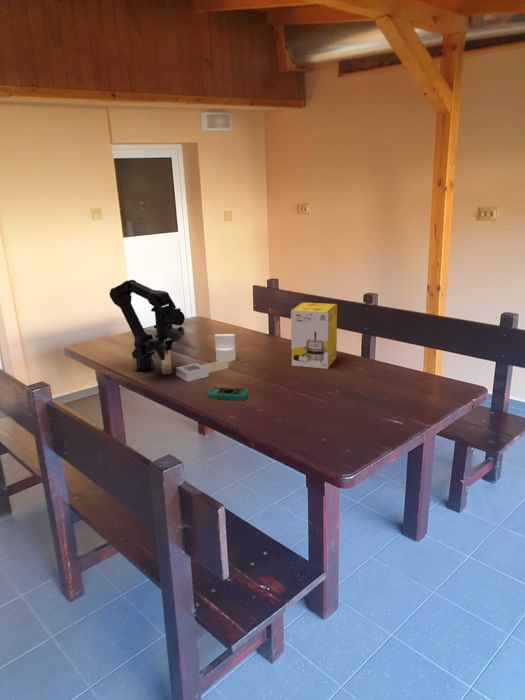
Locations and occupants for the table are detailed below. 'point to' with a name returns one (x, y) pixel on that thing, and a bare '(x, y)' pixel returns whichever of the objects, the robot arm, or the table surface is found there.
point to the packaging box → (314, 335)
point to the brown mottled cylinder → (166, 363)
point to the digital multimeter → (228, 393)
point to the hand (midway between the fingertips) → (165, 358)
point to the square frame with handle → (200, 370)
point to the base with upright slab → (225, 347)
